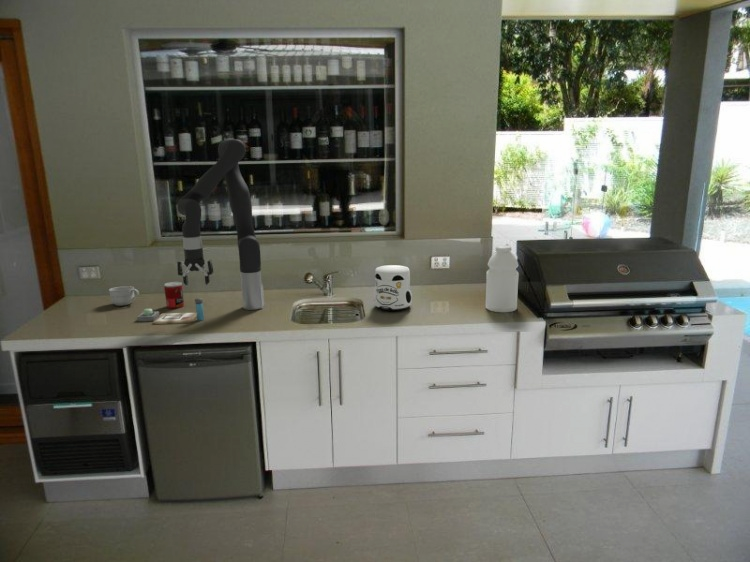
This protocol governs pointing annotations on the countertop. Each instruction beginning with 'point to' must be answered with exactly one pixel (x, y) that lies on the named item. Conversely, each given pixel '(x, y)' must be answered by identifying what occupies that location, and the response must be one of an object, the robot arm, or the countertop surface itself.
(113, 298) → the teacup
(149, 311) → the mint green capsule
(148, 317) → the button housing
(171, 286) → the canned food
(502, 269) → the bottle
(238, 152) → the robot arm
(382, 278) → the milk container
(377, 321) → the countertop surface
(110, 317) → the countertop surface
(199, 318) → the marker
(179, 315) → the board
